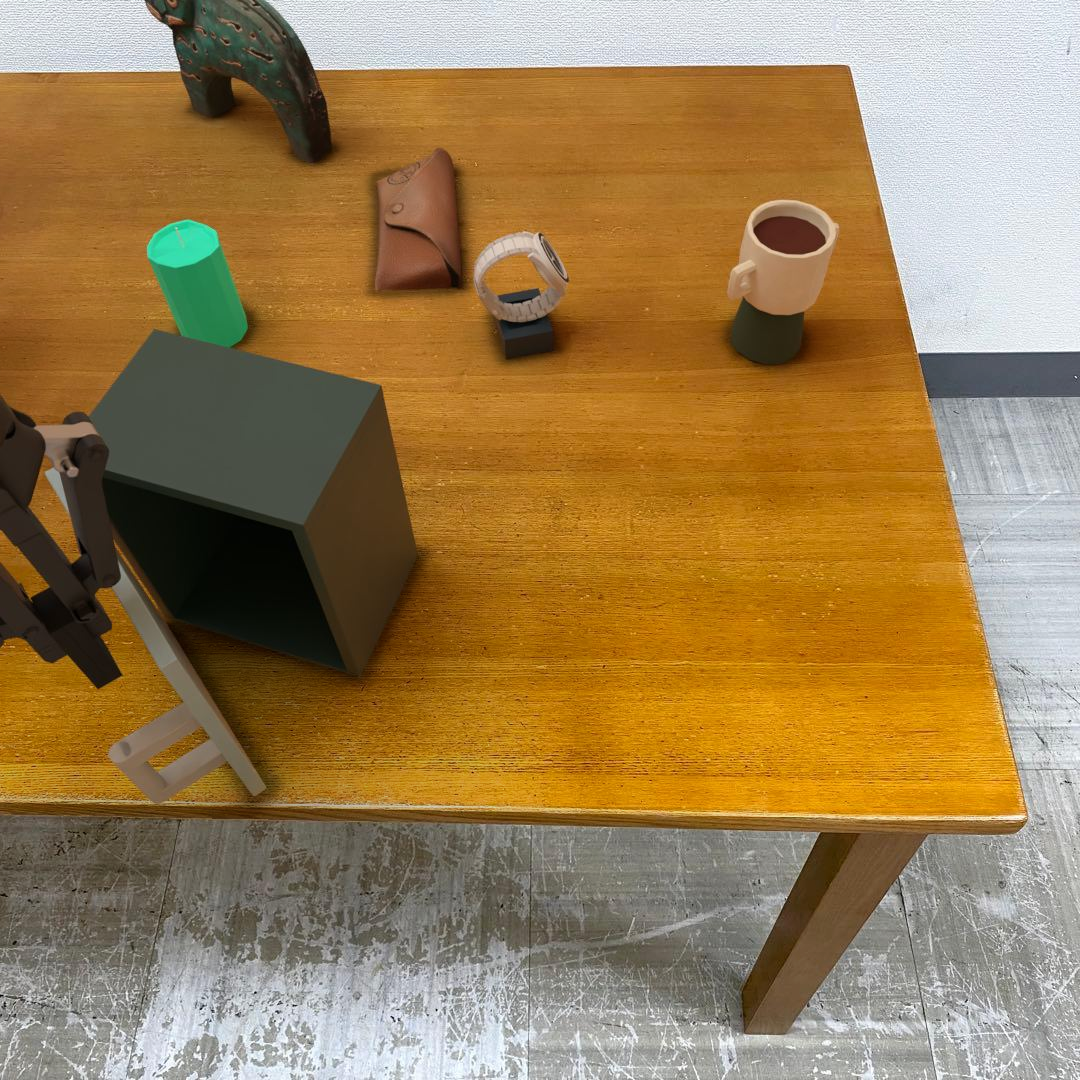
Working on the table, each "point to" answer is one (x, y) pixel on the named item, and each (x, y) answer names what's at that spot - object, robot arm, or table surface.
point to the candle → (197, 283)
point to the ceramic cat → (248, 64)
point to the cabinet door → (179, 719)
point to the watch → (523, 294)
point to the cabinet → (257, 497)
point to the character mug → (779, 277)
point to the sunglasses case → (419, 227)
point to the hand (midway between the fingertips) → (100, 664)
